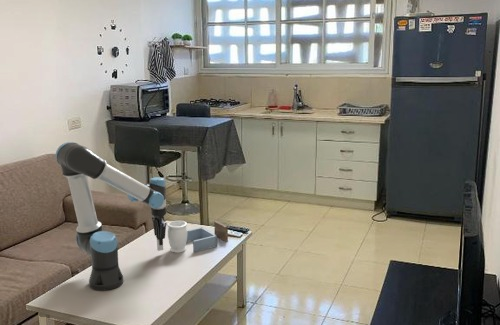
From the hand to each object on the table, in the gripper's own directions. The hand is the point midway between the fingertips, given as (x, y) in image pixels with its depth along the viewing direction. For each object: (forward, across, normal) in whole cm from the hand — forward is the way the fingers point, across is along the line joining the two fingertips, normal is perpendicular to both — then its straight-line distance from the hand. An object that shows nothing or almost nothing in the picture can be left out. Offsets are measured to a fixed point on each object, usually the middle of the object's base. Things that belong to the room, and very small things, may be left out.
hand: (160, 249), depth 256 cm
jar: (+3, 0, -10) cm, 11 cm away
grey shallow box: (+3, 0, -22) cm, 22 cm away
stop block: (+3, 0, -38) cm, 38 cm away
